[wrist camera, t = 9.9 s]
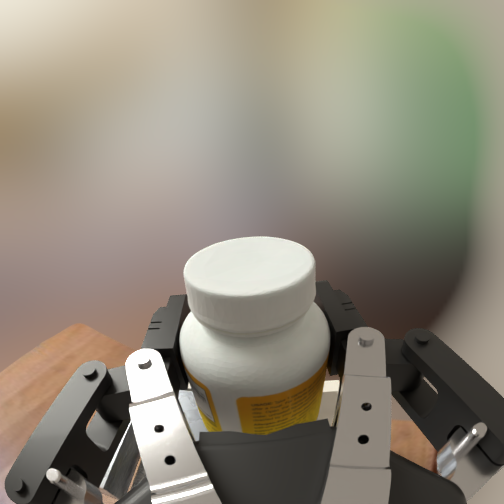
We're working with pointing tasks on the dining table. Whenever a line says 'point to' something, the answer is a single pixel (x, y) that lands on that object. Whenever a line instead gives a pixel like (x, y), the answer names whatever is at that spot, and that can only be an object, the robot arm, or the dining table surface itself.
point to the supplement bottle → (254, 335)
